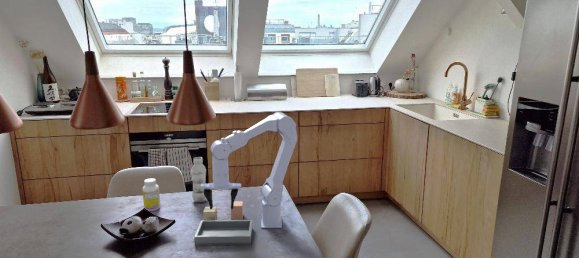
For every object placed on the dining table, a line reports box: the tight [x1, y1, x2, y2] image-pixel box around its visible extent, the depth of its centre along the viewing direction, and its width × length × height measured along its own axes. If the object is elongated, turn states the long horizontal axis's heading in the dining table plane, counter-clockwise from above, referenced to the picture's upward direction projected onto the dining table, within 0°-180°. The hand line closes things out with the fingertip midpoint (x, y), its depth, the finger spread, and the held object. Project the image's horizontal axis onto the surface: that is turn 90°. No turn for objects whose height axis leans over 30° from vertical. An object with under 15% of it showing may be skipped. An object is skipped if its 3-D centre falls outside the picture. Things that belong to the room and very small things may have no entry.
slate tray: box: [193, 219, 254, 247], centre depth 149 cm, size 13×20×4 cm, turn 92°
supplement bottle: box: [142, 177, 161, 212], centre depth 171 cm, size 7×7×13 cm
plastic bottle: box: [190, 156, 207, 203], centre depth 178 cm, size 6×7×20 cm
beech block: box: [202, 206, 218, 220], centre depth 159 cm, size 4×4×6 cm
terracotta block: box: [230, 200, 244, 220], centre depth 164 cm, size 4×4×6 cm
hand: (221, 207), depth 151 cm, fingers open, 7 cm apart
